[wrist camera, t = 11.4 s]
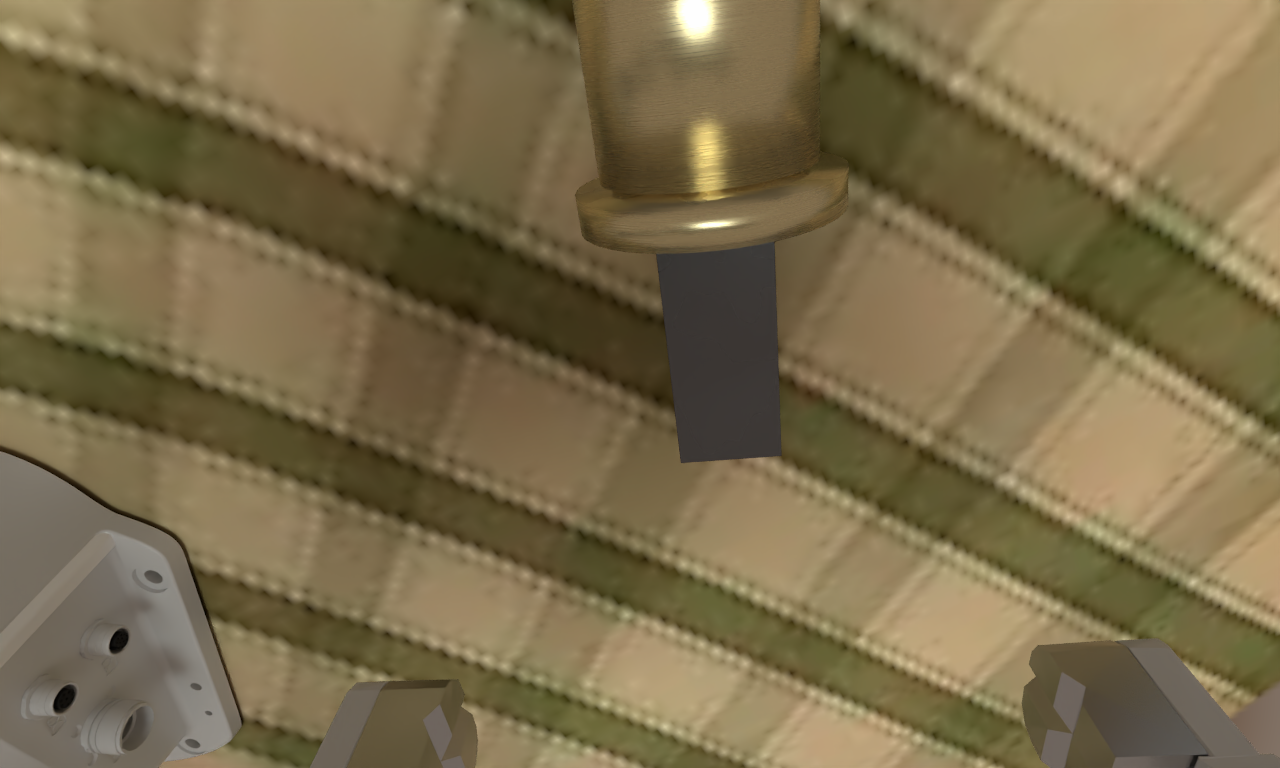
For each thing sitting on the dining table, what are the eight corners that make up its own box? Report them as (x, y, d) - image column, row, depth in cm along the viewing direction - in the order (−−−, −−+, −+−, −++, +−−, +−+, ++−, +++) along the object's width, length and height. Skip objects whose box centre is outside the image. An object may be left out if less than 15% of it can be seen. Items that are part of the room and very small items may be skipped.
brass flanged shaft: (820, 369, 24) (869, 488, 18) (626, 385, 25) (606, 505, 19) (820, -151, 17) (900, -260, 11) (550, -105, 18) (476, -181, 12)
